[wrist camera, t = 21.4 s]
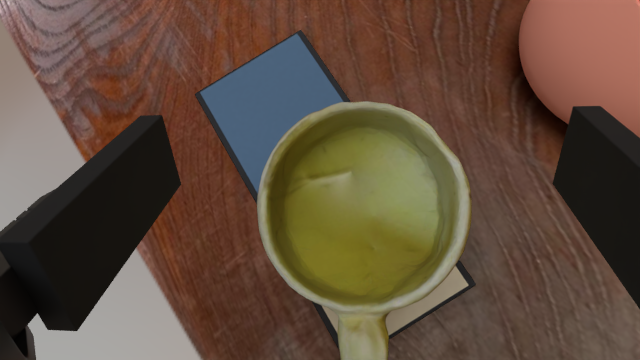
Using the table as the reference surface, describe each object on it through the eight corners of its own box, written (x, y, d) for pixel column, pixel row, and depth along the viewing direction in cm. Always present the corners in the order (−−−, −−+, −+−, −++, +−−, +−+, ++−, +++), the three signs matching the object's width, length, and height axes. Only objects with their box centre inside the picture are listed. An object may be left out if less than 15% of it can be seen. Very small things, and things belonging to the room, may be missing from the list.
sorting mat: (197, 97, 30) (193, 93, 29) (302, 34, 30) (300, 28, 29) (348, 363, 24) (347, 365, 24) (474, 284, 25) (476, 284, 24)
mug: (273, 106, 26) (285, 66, 16) (429, 143, 27) (528, 127, 17) (232, 303, 26) (218, 386, 16) (390, 328, 27) (468, 418, 17)
